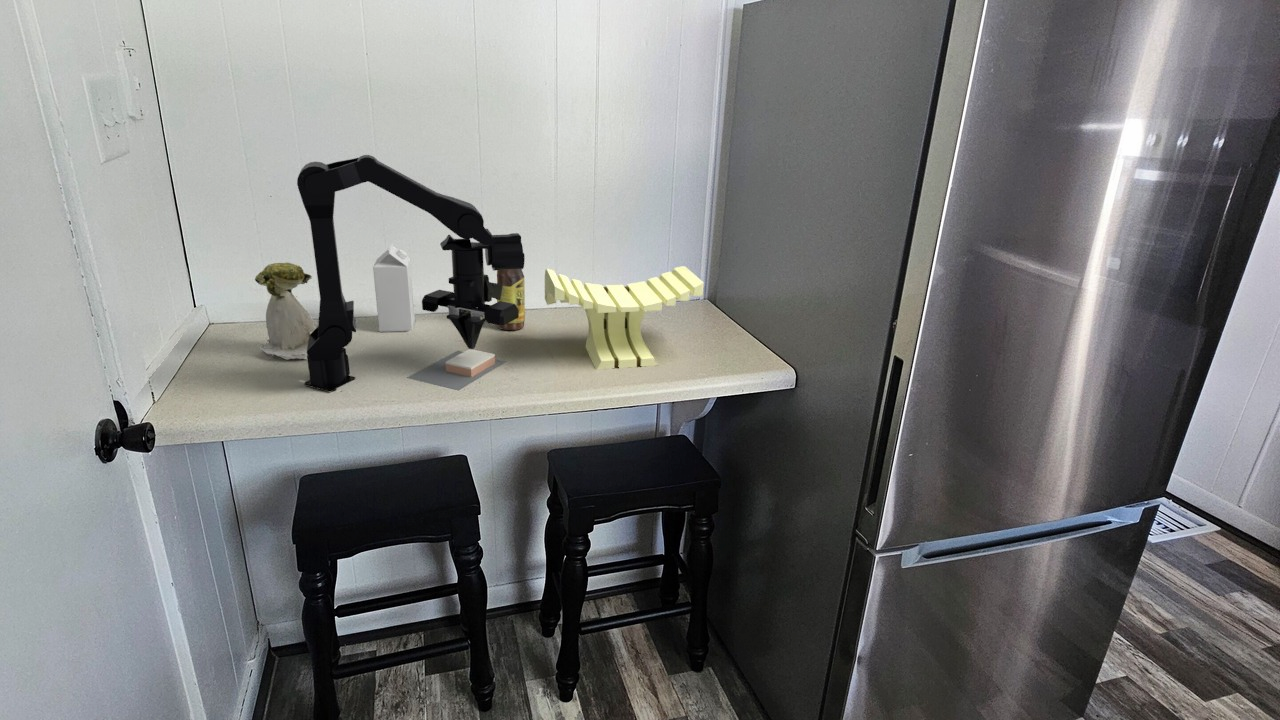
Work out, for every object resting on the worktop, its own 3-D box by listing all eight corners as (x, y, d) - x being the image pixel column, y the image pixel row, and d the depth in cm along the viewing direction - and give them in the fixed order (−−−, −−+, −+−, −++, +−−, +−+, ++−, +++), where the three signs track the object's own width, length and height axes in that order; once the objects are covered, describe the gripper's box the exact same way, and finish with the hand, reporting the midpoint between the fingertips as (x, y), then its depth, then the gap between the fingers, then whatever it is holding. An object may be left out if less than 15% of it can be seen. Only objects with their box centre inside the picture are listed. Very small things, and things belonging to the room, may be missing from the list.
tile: (445, 371, 139) (471, 377, 137) (445, 361, 139) (471, 367, 137) (470, 357, 146) (495, 363, 144) (469, 348, 146) (494, 354, 143)
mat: (458, 392, 132) (458, 390, 132) (406, 379, 136) (406, 377, 136) (506, 363, 146) (506, 361, 145) (458, 352, 150) (457, 350, 150)
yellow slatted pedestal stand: (675, 337, 164) (680, 262, 157) (697, 364, 150) (703, 282, 143) (544, 343, 157) (544, 264, 150) (554, 372, 143) (554, 286, 136)
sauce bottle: (522, 332, 163) (521, 246, 155) (495, 331, 163) (492, 245, 155) (527, 322, 169) (526, 240, 161) (500, 321, 169) (498, 238, 161)
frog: (282, 367, 139) (268, 275, 132) (249, 350, 146) (234, 262, 139) (339, 350, 148) (328, 264, 141) (305, 335, 155) (293, 252, 148)
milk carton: (379, 332, 158) (370, 248, 151) (383, 322, 165) (375, 241, 157) (412, 331, 160) (405, 248, 152) (415, 321, 166) (408, 240, 159)
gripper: (533, 269, 138) (534, 344, 144) (453, 255, 144) (457, 328, 150) (501, 282, 128) (503, 362, 134) (417, 267, 135) (423, 344, 141)
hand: (471, 348), depth 140 cm, fingers closed
